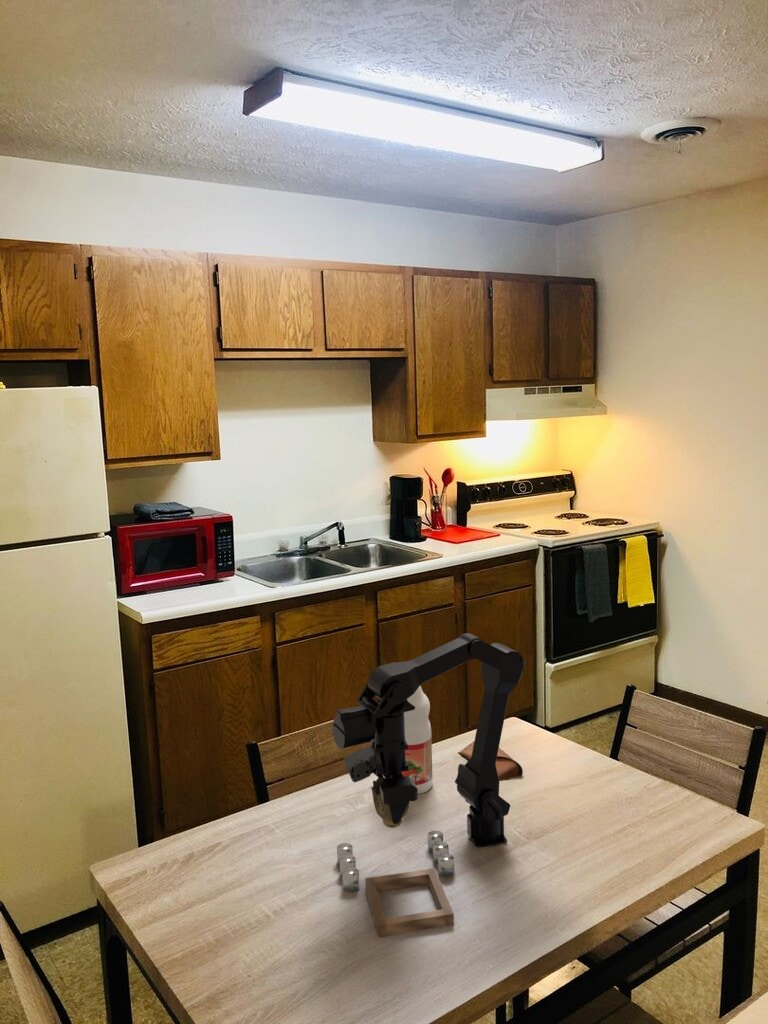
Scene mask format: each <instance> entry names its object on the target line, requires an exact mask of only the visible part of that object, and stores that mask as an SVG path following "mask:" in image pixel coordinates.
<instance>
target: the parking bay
mask: <svg viewBox="0 0 768 1024" xmlns="http://www.w3.org/2000/svg"><path fill="white" fill-rule="evenodd" d="M437 873H438V872H437V871H436V869H435V867H434V868H428V869H419V870H414V871H412V870H411V871H407V872H400V873H399V872H398V873H393V874H387V875H379V876H373V877H367V878H365V880H364V881H365V882H364V884H365V891H366V895H367V898H368V903H369V906H370V910H371V915H372V919H373V923H374V924H375V925H374V926H375V930H376V934H377V937H385V936H390V935H391V936H392V935H397V934H404V933H409V932H417V931H422V930H427V929H429V930H430V929H435V928H440V927H445V926H451V925H452V926H453V925H455V920H454V918H455V916H454V915H455V914H454V911H453V909H452V906H451V905H450V901H449V899H448V897H447V895H446V893H445V890H444V888H443V885H442V883H441V880H440V878H439V874H437ZM426 885H428V886H429V889H430V890H431V892H432V896H433V898H434V901H435V903H436V906H437V909H436V910H430V911H424V912H417V913H412V914H404V915H398V916H393V917H386V918H385V914H384V910H383V907H382V903H381V899H380V897H379V893H380V892H387V891H394V890H400V889H407V888H413V887H420V886H426Z"/></svg>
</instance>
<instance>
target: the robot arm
mask: <svg viewBox="0 0 768 1024" xmlns="http://www.w3.org/2000/svg"><path fill="white" fill-rule="evenodd" d="M474 659H476V660H478V661H480V662H481V663H480V674H481V678H482V681H483V687H484V691H483V695H482V699H481V700H482V701H481V705H480V710H479V715H478V721H477V726H476V731H475V732H476V733H475V735H474V736H475V737H474V740H473V741H474V746H473V751H472V756H471V758H470V759H469V761H468V760H467V762H466V763H465V764H464V763H463V764H462V763H459V765H458V767H457V776H456V779H455V780H454V783H455V784H456V791H457V792H458V794H459V795H460V796H461V797H462V798H463V799H464V800H465V801H464V802H466V803H467V804H469V813H468V814H466V825H467V827H466V828H467V829H466V833H467V834H468V836H469V838H470V840H472V842H473V845H474V847H477V848H480V847H482V848H483V847H487V846H488V847H489V846H495V845H500V844H501V845H503V844H507V842H508V839H507V837H506V836H505V819H504V817H506V816H507V815H509V813H510V812H509V811H510V808H511V804H510V802H508V801H506V800H505V799H504V798H502V797H501V796H500V781H499V777H498V773H497V769H496V759H497V754H498V749H499V748H500V743H501V738H502V732H503V727H504V722H505V717H506V712H507V706H508V702H509V696H510V694H511V693H512V692H513V690H514V689H515V688H516V687H517V686H518V684H519V683H520V680H521V677H522V674H523V671H524V669H525V659H524V658H523V656H522V654H521V653H520V652H519V651H516V650H515V649H512V648H510V647H509V646H506V645H504V644H502V643H500V642H494V643H493V642H492V643H491V644H490V643H487V642H485V641H483V639H481V638H480V637H477V636H476V635H473V634H471V633H468V632H466V633H462V634H460V635H459V637H457V638H456V639H452V640H451V641H449V642H447V643H445V644H442V645H441V646H438V647H436V648H434V649H432V650H430V651H428V652H427V651H426V653H424V654H421V655H419V656H416V657H415V658H412V659H410V660H406V661H397V662H396V661H395V662H390V663H387V664H384V665H383V664H382V665H379V666H377V667H374V669H373V670H372V671H370V674H369V677H368V680H367V683H366V685H365V686H364V688H363V690H362V692H361V693H360V695H359V697H358V699H357V700H356V702H357V703H358V704H359V705H358V706H354V707H349V708H340V709H337V710H336V715H335V716H334V718H333V722H332V724H331V727H332V735H333V738H334V741H335V744H336V746H337V748H338V749H340V750H343V749H347V748H351V747H354V746H358V745H363V744H366V743H371V744H370V745H369V746H367V747H363V748H360V749H359V750H357V751H355V752H354V751H353V752H352V753H350V754H348V755H346V756H345V757H344V758H343V761H344V765H345V769H346V770H347V772H348V775H349V777H350V779H351V782H353V783H357V782H360V781H362V780H365V779H367V778H369V777H371V775H372V774H374V776H376V777H377V779H378V778H379V777H381V778H382V779H383V781H382V782H381V784H380V792H379V793H380V795H381V798H382V800H383V803H384V804H389V808H390V812H391V817H392V821H393V824H398V823H399V822H400V820H401V818H402V816H403V814H404V812H405V810H406V808H407V806H408V804H409V805H410V803H409V802H417V801H418V799H419V794H418V789H417V787H416V784H415V782H414V780H413V779H412V778H410V777H409V776H404V777H403V774H402V771H409V770H408V764H407V762H406V750H408V744H407V742H406V740H405V718H404V712H407V711H412V710H414V709H415V706H414V705H412V704H411V703H410V702H409V701H408V700H407V699H408V698H409V697H411V696H412V695H413V694H414V693H415V692H416V690H417V689H418V687H419V686H422V685H423V684H425V683H426V682H429V681H431V680H432V679H435V678H436V677H439V676H441V675H443V674H445V673H447V672H449V671H452V670H453V669H455V668H457V667H459V666H461V665H464V664H465V663H468V662H470V661H471V660H472V661H473V660H474ZM374 697H376V698H377V699H379V700H380V701H379V703H378V702H377V701H376V700H375V699H374ZM385 778H388V779H385ZM402 819H403V818H402Z"/></svg>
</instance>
